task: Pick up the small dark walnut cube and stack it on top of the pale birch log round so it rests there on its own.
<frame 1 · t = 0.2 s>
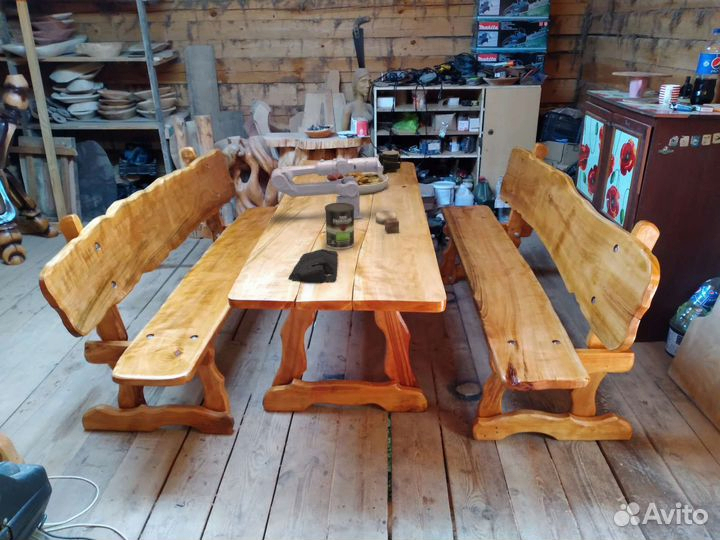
hand: (398, 163, 220), 21 cm above the table, tool horizontal, fingers open, 7 cm apart
walnut cube: (391, 231, 211), on the table
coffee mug: (391, 172, 292), on the table
birch round: (386, 222, 221), on the table
coffee can: (340, 244, 199), on the table
dark slate chunk: (316, 270, 180), on the table
bowl: (357, 187, 267), on the table
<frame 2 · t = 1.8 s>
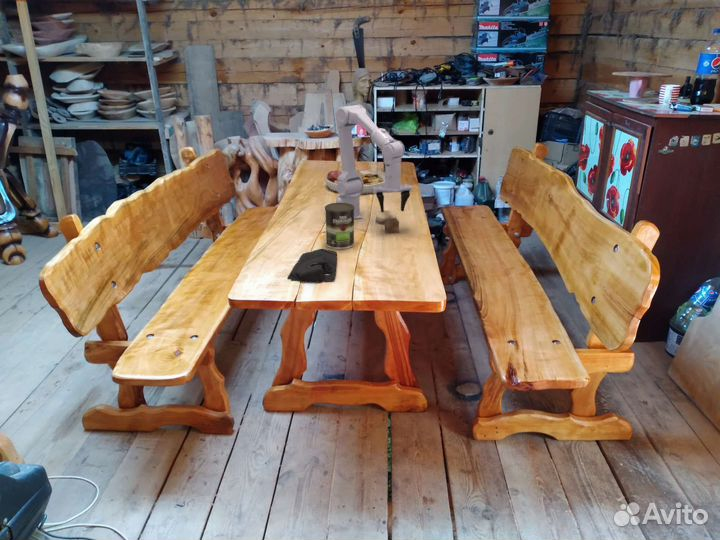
hand: (392, 210, 207), 8 cm above the table, tool pointing down, fingers open, 7 cm apart
nothing on the table moved.
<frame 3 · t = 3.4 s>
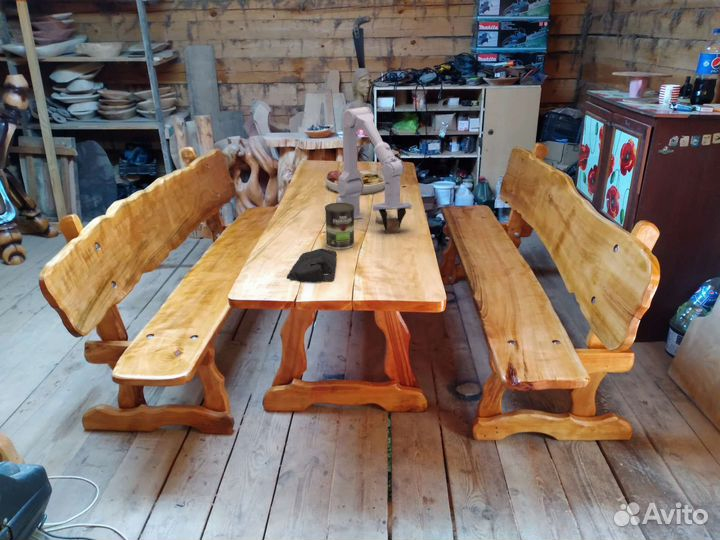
hand: (391, 227, 210), 1 cm above the table, tool pointing down, fingers closed on walnut cube, 4 cm apart
walnut cube: (391, 231, 211), on the table, touching gripper
everything else where it was.
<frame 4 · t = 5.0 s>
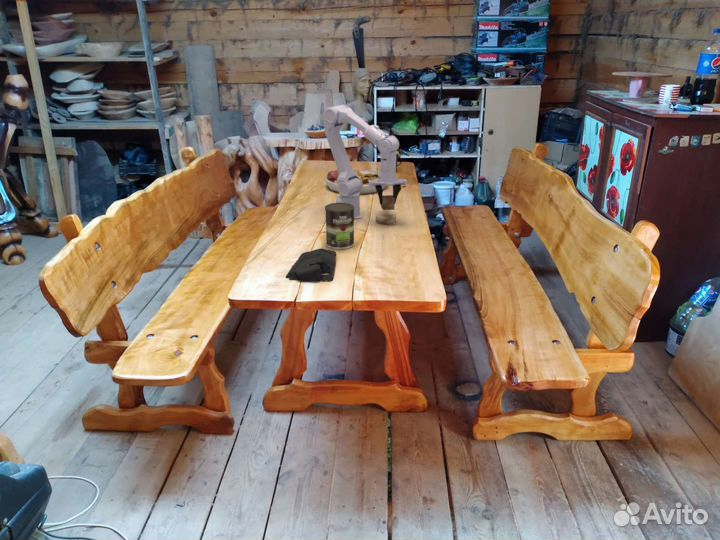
hand: (387, 203, 215), 8 cm above the table, tool pointing down, fingers closed on walnut cube, 4 cm apart
walnut cube: (387, 208, 215), point 7 cm above the table, touching gripper
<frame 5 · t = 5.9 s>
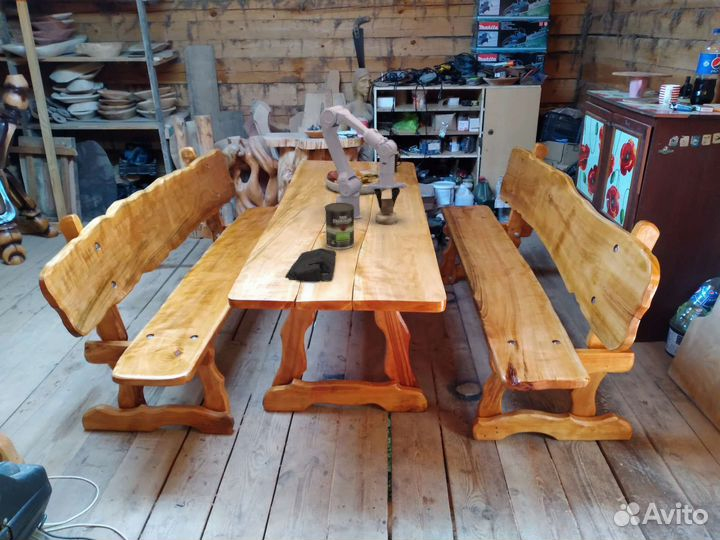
hand: (386, 206, 218), 6 cm above the table, tool pointing down, fingers closed on walnut cube, 4 cm apart
walnut cube: (386, 211, 218), point 4 cm above the table, touching gripper
when the fingers open (6 cm above the table, at t = 6.5 s): walnut cube drops 1 cm, resting on birch round.
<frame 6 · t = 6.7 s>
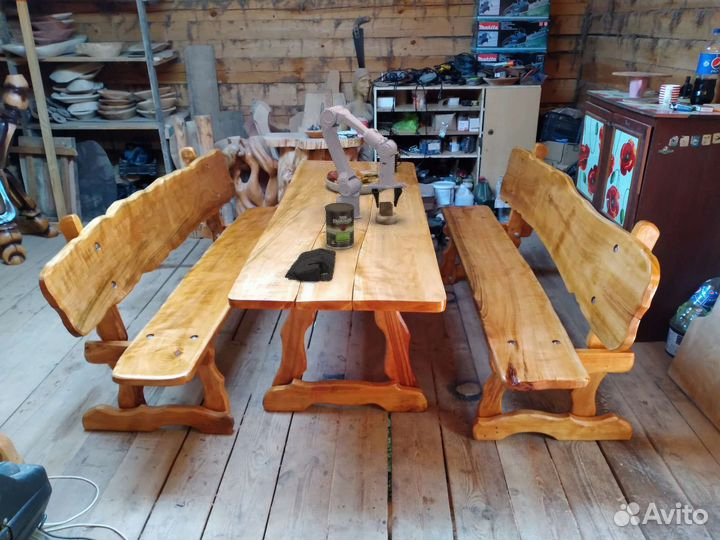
hand: (386, 206, 218), 6 cm above the table, tool pointing down, fingers open, 6 cm apart
walnut cube: (385, 214, 219), point 3 cm above the table, touching birch round
birch round: (386, 222, 221), on the table, touching walnut cube
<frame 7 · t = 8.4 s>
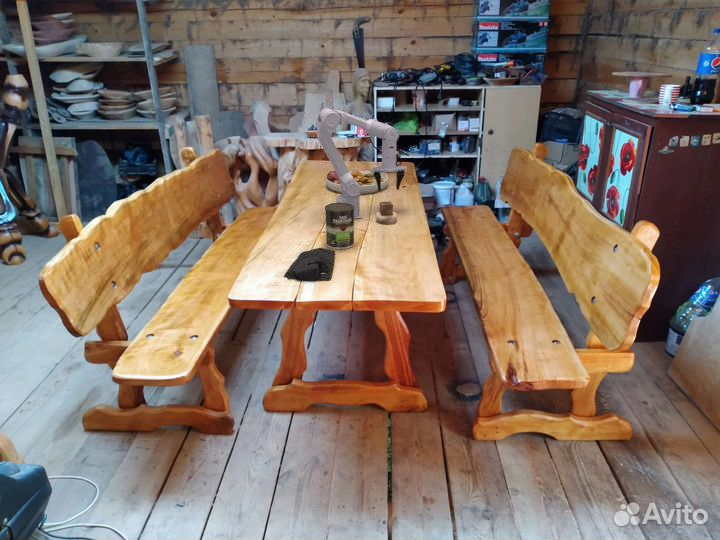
hand: (388, 189, 227), 10 cm above the table, tool pointing down, fingers open, 7 cm apart
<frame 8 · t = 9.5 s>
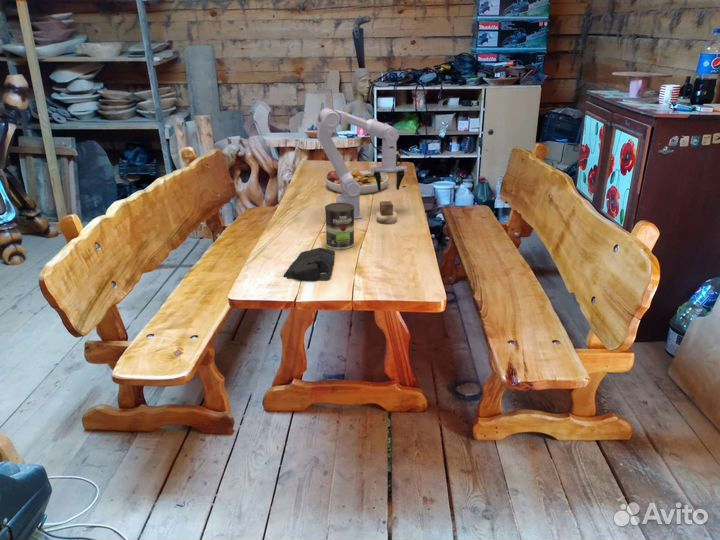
hand: (388, 189, 227), 10 cm above the table, tool pointing down, fingers open, 7 cm apart
at the end: walnut cube 0.5 cm off-centre on the birch round, point 3.5 cm above the birch round's base; walnut cube tilted 0°; the gripper is holding nothing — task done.
